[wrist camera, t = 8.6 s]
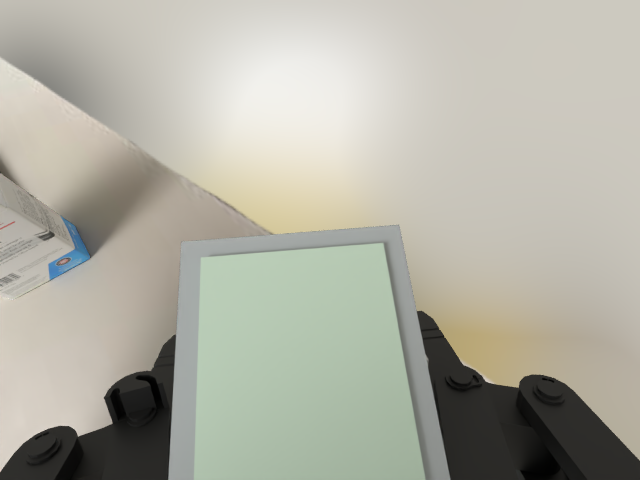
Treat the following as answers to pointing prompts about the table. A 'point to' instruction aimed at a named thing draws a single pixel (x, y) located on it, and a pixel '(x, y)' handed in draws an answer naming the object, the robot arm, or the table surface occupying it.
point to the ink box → (33, 242)
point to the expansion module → (301, 361)
